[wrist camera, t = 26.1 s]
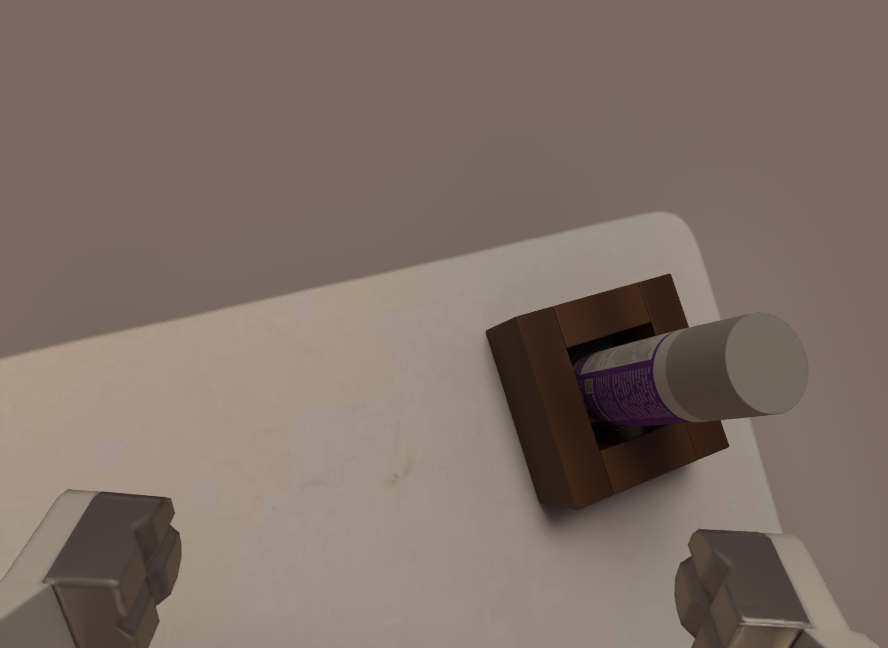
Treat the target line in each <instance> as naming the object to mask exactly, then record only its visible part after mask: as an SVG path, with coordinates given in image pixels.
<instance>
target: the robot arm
mask: <svg viewBox="0 0 888 648" xmlns="http://www.w3.org/2000/svg"><path fill="white" fill-rule="evenodd" d="M174 514H175V512H174V508H173V504H172V501H171V498H167V497H158V496H146V495H135V494H124V493H112V492H98V491H85V490H72V489H68V490H67V491H65V492H64V493H63V494H61V495H60V496H59V497H58V498H57V499H56V500H55V502H54V503H53V505H52V506H51V508H50V509H49V511H48V512H47V514H46V515H45V517H44V518H43V520H42V521H41V523H40V524H39V526H38V527H37V529H36V530H35V532H34V533H33V535H32V536H31V538H30V539H29V541H28V542H27V544H26V545H25V546H24V548H23V549H22V551H21V552H20V554H19V555H18V557H17V558H16V560H15V561H14V563H13V564H12V566H11V567H10V569H9V570H8V572H7V573H6V575H5V576H4V578H3V579H2V581H0V648H149V645H150V643H151V640H152V638H153V636H154V633H155V631H156V629H157V626H158V624H159V617H158V613H157V610H156V606H157V605H158V604H159V603H161V602H162V601H163V600H164V599H166V598H167V597H168V596H169V595H170V594H171V592H172V590H173V587H174V585H175V582H176V579H177V577H178V572H179V567H180V562H181V539H180V534H179V532H178V531H177V530H175V529H174V528H173V527H172V526H171V525H170V523H171V521H172V519H173V516H174ZM688 547H689V550H690V553H691V557H689V558H688V559H686V560H685V561H683V562H681V563H680V565H679V568H678V571H677V574H676V577H675V593H674V595H675V602H676V609H677V612H678V616H679V619H680V623H681V625H682V626H683V627H684V628H685V629H686V630H687V631H688V632H689V633H690V634H691V635H692V636H693V637H694V638H695V640H694V643H693V645H692V647H691V648H880V647H879V646H878V645H876V644H875V643H874V642H873V641H871V640H870V639H869V638H868V637H867V636H865V635H864V634H863V633H862V632H856V631H851V630H850V628H849V626H848V624H847V623H846V621H845V619H844V617H843V615H842V614H841V612H840V610H839V608H838V606H837V604H836V602H835V601H834V599H833V597H832V595H831V593H830V591H829V589H828V588H827V586H826V584H825V582H824V580H823V578H822V576H821V575H820V573H819V571H818V569H817V567H816V565H815V564H814V562H813V560H812V558H811V557H810V554H809V553H808V551H807V549H806V547H805V545H804V543H803V542H802V540H801V539H800V538H798V537H797V536H796V535H790V534H773V533H759V532H746V531H725V530H705V529H698V530H697V531H695V532H694V533H693V534H692V536H691V538H690V541H689V543H688Z"/></svg>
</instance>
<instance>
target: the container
mask: <svg viewBox="0 0 888 648" xmlns="http://www.w3.org/2000/svg"><path fill="white" fill-rule="evenodd" d="M571 364H572V367H573V370H574V373H575V377H576V380H577V383H578V386H579V389H580V392H581V395H582V398H583V401H584V404H585V408H586V411H587V414H588V417H589V420H590V423H591V426H592V429H598V428H614V427H631V426H648V425H665V424H681V423H698V422H707V421H716V420H726V419H736V418H746V417H756V416H766V415H776V414H781V413H784V412H786V411H788V410H790V409H792V408H793V407H794V406H795V405H796V404H797V403H798V402H799V400H800V399H801V398H802V396H803V394H804V392H805V389H806V385H807V381H808V361H807V356H806V352H805V349H804V347H803V344H802V342H801V341H800V339H799V337H798V335H797V334H796V332H795V331H794V330H793V329H792V328H791V327H790V326H789V325H788V324H787V323H786V322H785V321H783V320H782V319H780V318H779V317H777V316H775V315H772V314H768V313H762V312H758V313H752V314H747V315H743V316H739V317H734V318H729V319H725V320H721V321H716V322H712V323H707V324H703V325H699V326H694V327H690V328H685V329H680V330H677V331H673V332H669V333H665V334H662V335H658V336H654V337H651V338H647V339H643V340H639V341H636V342H632V343H628V344H625V345H621V346H617V347H613V348H610V349H606V350H602V351H599V352H595V353H591V354H587V355H584V356H581V357H578V358H575V359H573V360H571Z"/></svg>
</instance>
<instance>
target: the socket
mask: <svg viewBox="0 0 888 648" xmlns="http://www.w3.org/2000/svg"><path fill="white" fill-rule="evenodd" d="M685 328H689V326H688V323H687V320H686V317H685V314H684V311H683V309H682V306H681V303H680V300H679V297H678V294H677V291H676V288H675V285H674V282H673V279H672V276H671V274H666V275H663V276H659V277H656V278H652V279H648V280H645V281H641V282H638V283H634V284H631V285H627V286H623V287H620V288H616V289H613V290H609V291H606V292H602V293H598V294H595V295H591V296H588V297H584V298H581V299H577V300H574V301H570V302H566V303H563V304H559V305H556V306H553V307H549V308H545V309H541V310H538V311H534V312H531V313H527V314H524V315H520V316H517V317H514V318H512V319H510V320H508V321H505V322H503V323H501V324H499V325H497V326H494V327H492V328H490V329H488V330H486V333H487V336H488V339H489V342H490V345H491V349H492V352H493V355H494V358H495V361H496V365H497V368H498V371H499V374H500V377H501V381H502V384H503V387H504V390H505V393H506V397H507V400H508V403H509V406H510V409H511V413H512V416H513V419H514V422H515V425H516V429H517V432H518V435H519V438H520V441H521V445H522V448H523V451H524V454H525V457H526V461H527V464H528V467H529V470H530V473H531V477H532V480H533V483H534V486H535V489H536V493H537V496H538V499H539V502H540V504H545V505H551V506H557V507H563V508H569V509H575V510H578V509H580V508H583V507H585V506H587V505H590V504H592V503H595V502H597V501H600V500H602V499H604V498H607V497H609V496H612V495H613V494H617V493H619V492H622V491H624V490H626V489H629V488H631V487H634V486H636V485H639V484H641V483H643V482H646V481H648V480H651V479H653V478H655V477H658V476H660V475H663V474H665V473H668V472H670V471H672V470H675V469H677V468H680V467H682V466H685V465H687V464H689V463H692V462H694V461H697V460H699V459H701V458H704V457H706V456H709V455H711V454H713V453H716V452H718V451H721V450H723V449H726V448H728V447H729V444H728V441H727V438H726V435H725V432H724V429H723V426H722V423H721V420H716V421H707V422H698V423H681V424H665V425H648V426H631V427H626V428H623V429H620V430H618V431H615V432H612V433H609V434H607V435H604V436H601V437H599V438H596V439H595V435H594V432H593V429H592V426H591V423H590V420H589V417H588V414H587V411H586V408H585V404H584V401H583V398H582V395H581V392H580V389H579V386H578V383H577V380H576V377H575V373H574V370H573V367H572V364H571V361H570V358H569V355H568V352H567V349H566V348H569V347H572V346H575V345H579V344H582V343H585V342H588V341H592V340H595V339H598V338H601V337H605V336H608V335H612V338H613V341H614V344H615V347H617V346H621V345H625V344H628V343H632V342H636V341H639V340H643V339H647V338H651V337H654V336H658V335H662V334H665V333H669V332H673V331H677V330H680V329H685Z"/></svg>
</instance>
